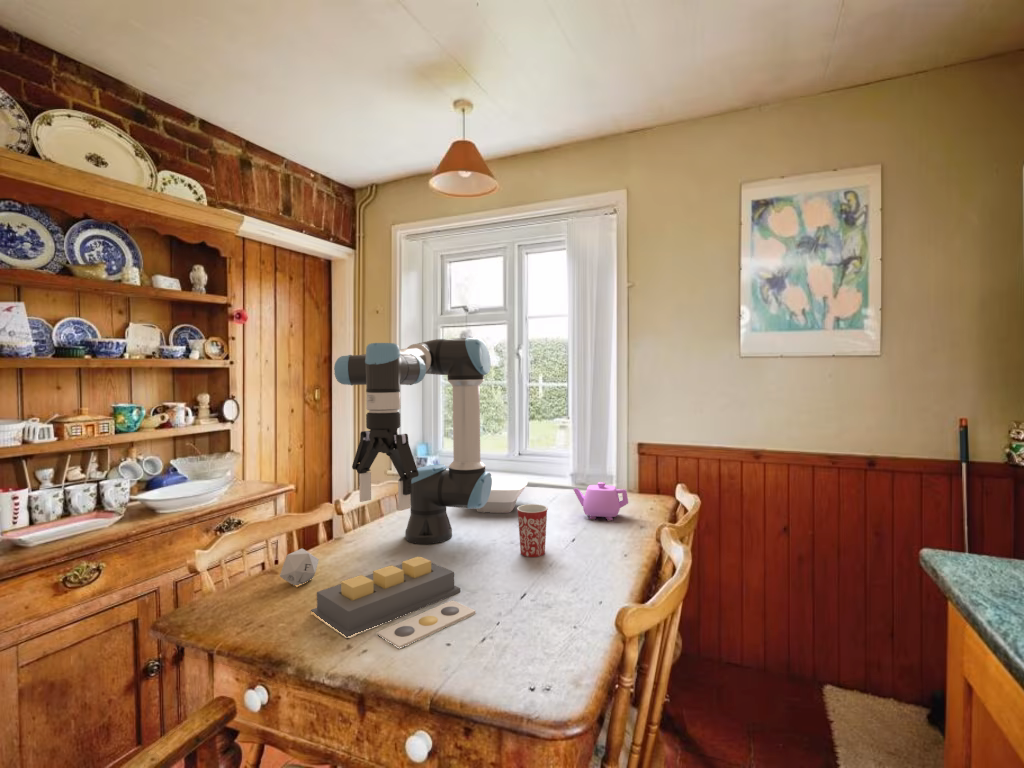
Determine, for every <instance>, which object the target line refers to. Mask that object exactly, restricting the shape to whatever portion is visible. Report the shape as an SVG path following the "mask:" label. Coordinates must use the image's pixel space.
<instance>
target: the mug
mask: <svg viewBox="0 0 1024 768" xmlns="http://www.w3.org/2000/svg"><path fill="white" fill-rule="evenodd" d="M548 510H549V508H548V506H546V505H543V504H536V503H535V504H534V503H529V504H528V503H527V504H523V505H518V507H516V511H517V517H518V519H517V522H518V532H519V533H518V534H519V546H520V547H519V549H520V550H519V551H520V554H521V555H522V556H524V557H527V558H538V557H539V558H540V557H542V556H544V555H545V553H546V538H547V537H546V536H547V521H548V520H547V518H548V516H547V515H548Z"/></svg>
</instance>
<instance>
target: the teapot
mask: <svg viewBox="0 0 1024 768" xmlns="http://www.w3.org/2000/svg"><path fill="white" fill-rule="evenodd" d="M627 491H628V490H627V489H625V488H623V489H622V488H617V487H616V486H615V485H608V484H606V482H602V481H599V482H597V484H589V485H588V486H587V488H586V491H585V494H583V493H582V492H581V490H579V488H577V487H575V488H573V492H574V494H575V496H576V497H577V499H578V502H579V503H580V505H581V507H582V508H583V509H582V510H583V514H585V515H586V516H588V517H589V518H590V519H589V518H588V519H589V520H591V519H594V520H596V519H597V517H598V518H599V517H602V518H604V517H605V520H606V519H607V520H606V521H608V520H612V521H613V520H614V519H613V518H614V517H617V516H618V515H619V512H620V510H621V508H623V507H625V506H626V505H629V498H628V497H629V496H628V493H627ZM619 494H621V495H622V500H620V497H619Z"/></svg>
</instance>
